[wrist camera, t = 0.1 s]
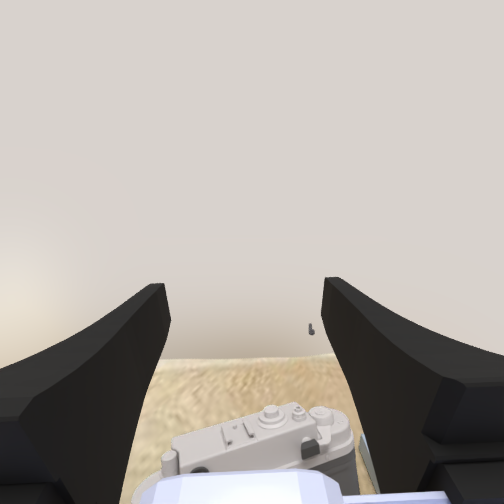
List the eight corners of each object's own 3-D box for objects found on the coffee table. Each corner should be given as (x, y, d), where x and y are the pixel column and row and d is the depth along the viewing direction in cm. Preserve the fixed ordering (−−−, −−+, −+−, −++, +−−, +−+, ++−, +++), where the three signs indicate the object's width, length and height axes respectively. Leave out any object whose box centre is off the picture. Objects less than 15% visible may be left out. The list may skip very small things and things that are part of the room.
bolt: (308, 322, 93) (314, 322, 92) (308, 327, 93) (314, 327, 93) (308, 330, 88) (314, 330, 88) (308, 335, 89) (314, 335, 88)
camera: (385, 555, 19) (364, 403, 19) (137, 687, 14) (119, 481, 14) (316, 465, 27) (303, 362, 28) (151, 527, 23) (139, 403, 23)
